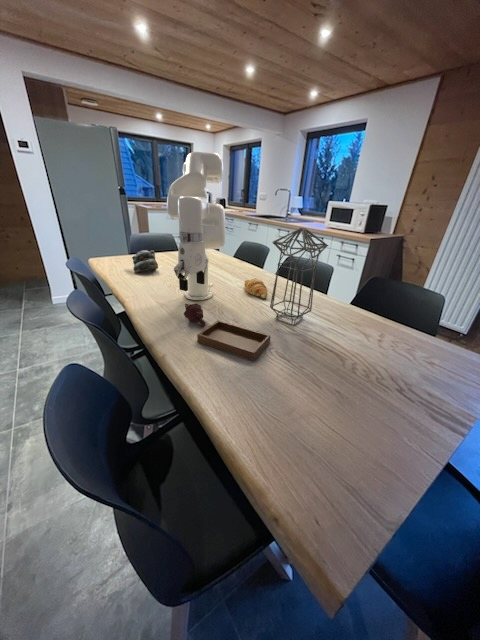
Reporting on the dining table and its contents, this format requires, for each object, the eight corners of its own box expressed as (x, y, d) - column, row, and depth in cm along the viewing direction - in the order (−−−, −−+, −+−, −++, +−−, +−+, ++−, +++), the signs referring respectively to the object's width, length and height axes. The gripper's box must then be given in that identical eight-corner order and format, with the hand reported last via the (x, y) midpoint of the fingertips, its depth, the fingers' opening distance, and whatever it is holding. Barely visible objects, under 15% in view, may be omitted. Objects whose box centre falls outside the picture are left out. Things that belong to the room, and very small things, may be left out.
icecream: (174, 300, 101) (192, 318, 91) (191, 292, 104) (210, 309, 94) (178, 314, 105) (196, 333, 95) (194, 307, 108) (213, 324, 98)
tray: (217, 326, 97) (218, 320, 96) (269, 342, 88) (270, 335, 87) (197, 341, 87) (197, 334, 86) (253, 361, 78) (254, 353, 77)
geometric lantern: (262, 318, 105) (270, 226, 90) (284, 308, 116) (295, 224, 101) (295, 332, 96) (312, 232, 81) (316, 319, 107) (334, 229, 91)
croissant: (270, 305, 127) (278, 291, 125) (254, 298, 121) (263, 283, 119) (249, 290, 143) (256, 277, 142) (235, 283, 137) (242, 270, 136)
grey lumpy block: (129, 273, 150) (124, 249, 150) (140, 276, 162) (135, 254, 162) (154, 267, 148) (148, 243, 148) (163, 270, 160) (158, 248, 160)
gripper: (183, 241, 79) (185, 295, 86) (214, 236, 93) (214, 283, 100) (164, 238, 82) (167, 291, 89) (197, 234, 96) (198, 279, 103)
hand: (192, 286), depth 95 cm, fingers open, 9 cm apart
